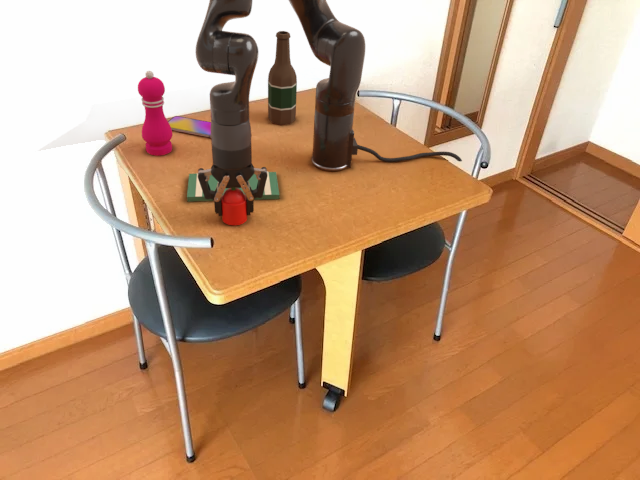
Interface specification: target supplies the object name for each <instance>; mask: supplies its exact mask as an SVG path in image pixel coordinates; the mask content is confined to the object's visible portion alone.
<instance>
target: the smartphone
mask: <svg viewBox="0 0 640 480" xmlns="http://www.w3.org/2000/svg"><path fill="white" fill-rule="evenodd" d="M167 121H168V123H169V124H170V126H171V129H172V131H174V132H180V133H183V134H184V133H185V134H190V135H195V136H201V137H205V138H211V121H207V120H202V119H196V118H190V117H185V116H180V115H174V116H172V118H170V119H168V120H167Z"/></svg>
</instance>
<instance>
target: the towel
mask: <svg viewBox="0 0 640 480" xmlns="http://www.w3.org/2000/svg"><path fill="white" fill-rule="evenodd" d="M267 175H268V176H267V180H266V184H265V188H264V192H263V196H262V198H255V199H254V201H257V200H259V201H260V200H280V189H279V183H278V182H279V181H278V176H277V171H267ZM208 183H209V186H210V189H211V190H212V191H215V189H216V187H217V183H218V181H217V180H216V179H215V178H214V177H213V176H212V175H210V179H209V181H208ZM249 183H250V186H251V188H252V190H254V189H256V187H257V183H258V179H257V178H256V175H255V174H253V176H252V177H251V178H250V179H249ZM227 189H229V188H225V190H224V193H225V191H226V190H227ZM238 189H240V190H241V191H242V192H243V190H242V188H238ZM224 193H223V194H222V196H223V195H224ZM243 193H244V192H243ZM244 194H245V193H244ZM245 195H246V194H245ZM222 196H221V197H222ZM186 201H187V202H188V203H189V202H214V201H213V200H212V199H208V200H207V199H205V197H204V194H203V191H202V188H201V185H200V182H199V179H198V172H196V173H188V180H187V192H186Z"/></svg>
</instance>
